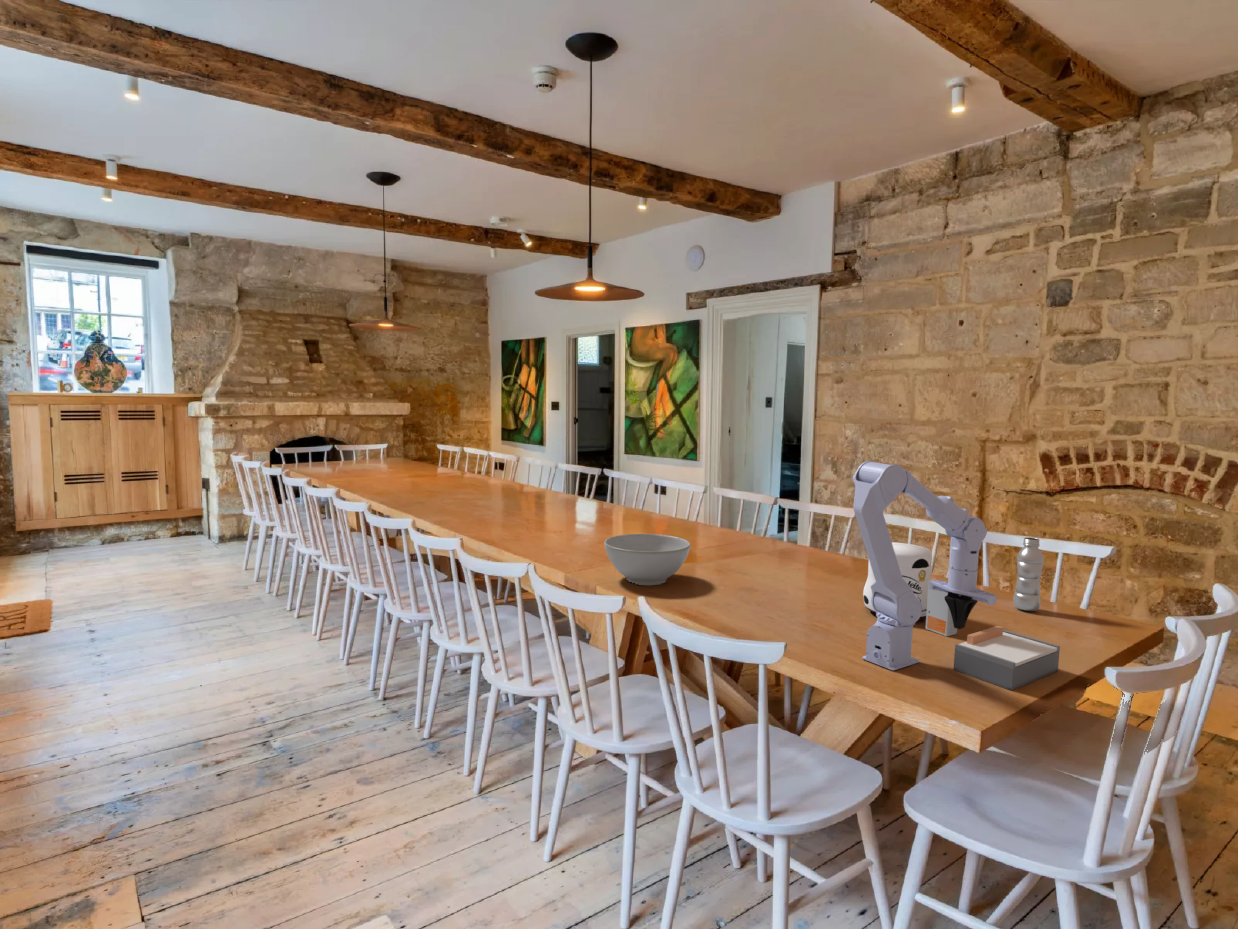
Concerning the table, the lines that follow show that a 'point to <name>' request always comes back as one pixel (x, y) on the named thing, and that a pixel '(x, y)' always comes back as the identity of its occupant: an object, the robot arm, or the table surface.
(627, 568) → the decorative bowl
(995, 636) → the lid
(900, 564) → the milk container
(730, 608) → the table surface
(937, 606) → the skincare box
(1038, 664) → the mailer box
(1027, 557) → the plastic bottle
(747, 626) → the table surface
